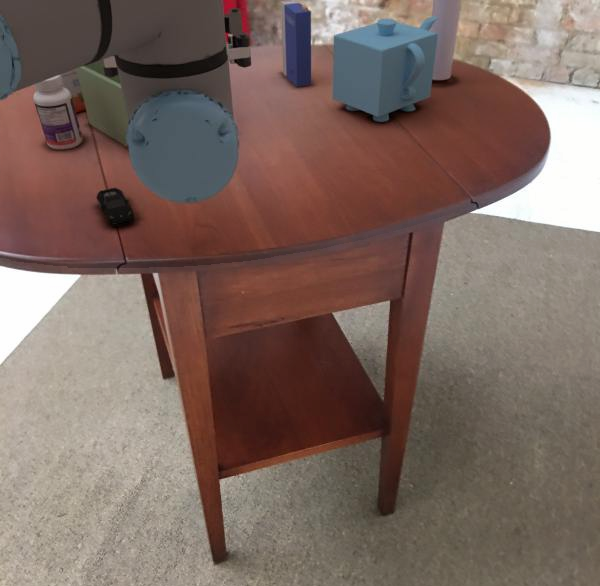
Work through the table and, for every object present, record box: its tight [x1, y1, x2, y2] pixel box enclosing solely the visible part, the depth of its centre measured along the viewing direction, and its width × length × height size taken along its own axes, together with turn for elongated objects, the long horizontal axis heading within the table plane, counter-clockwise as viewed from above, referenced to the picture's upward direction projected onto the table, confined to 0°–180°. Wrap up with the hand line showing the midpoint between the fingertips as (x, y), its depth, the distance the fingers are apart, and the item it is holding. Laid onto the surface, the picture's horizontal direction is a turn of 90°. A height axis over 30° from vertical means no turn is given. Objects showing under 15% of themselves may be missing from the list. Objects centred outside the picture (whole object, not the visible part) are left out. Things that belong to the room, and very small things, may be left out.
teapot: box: [332, 16, 438, 123], centre depth 102 cm, size 18×16×13 cm
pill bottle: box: [32, 74, 83, 150], centre depth 94 cm, size 5×5×10 cm
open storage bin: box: [76, 60, 128, 148], centre depth 99 cm, size 16×16×9 cm
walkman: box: [280, 0, 312, 88], centre depth 111 cm, size 8×3×12 cm, turn 20°
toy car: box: [96, 187, 135, 227], centre depth 81 cm, size 8×4×2 cm, turn 25°
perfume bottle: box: [430, 0, 462, 81], centre depth 107 cm, size 6×6×20 cm
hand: (173, 7), depth 69 cm, fingers closed on beverage can, 6 cm apart
